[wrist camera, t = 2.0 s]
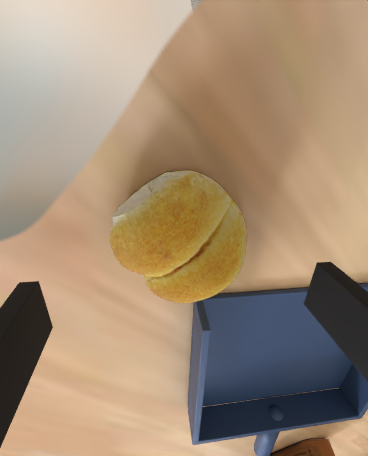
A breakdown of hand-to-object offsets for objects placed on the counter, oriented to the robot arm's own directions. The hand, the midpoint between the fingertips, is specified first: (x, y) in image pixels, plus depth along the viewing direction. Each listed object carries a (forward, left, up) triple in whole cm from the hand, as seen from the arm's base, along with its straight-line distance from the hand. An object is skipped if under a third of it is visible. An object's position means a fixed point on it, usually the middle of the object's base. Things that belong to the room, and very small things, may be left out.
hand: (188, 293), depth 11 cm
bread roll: (0, 0, -6) cm, 6 cm away
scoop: (+19, +11, -6) cm, 22 cm away
